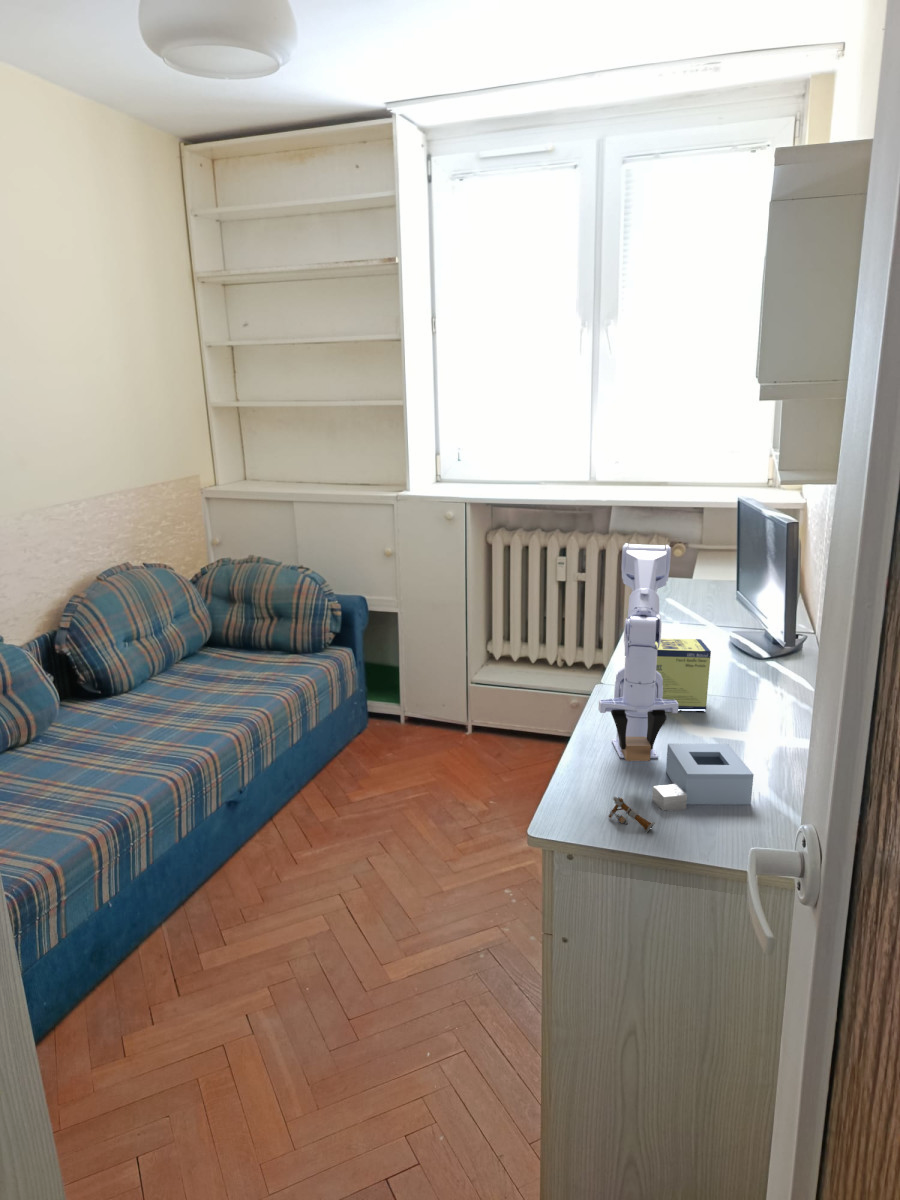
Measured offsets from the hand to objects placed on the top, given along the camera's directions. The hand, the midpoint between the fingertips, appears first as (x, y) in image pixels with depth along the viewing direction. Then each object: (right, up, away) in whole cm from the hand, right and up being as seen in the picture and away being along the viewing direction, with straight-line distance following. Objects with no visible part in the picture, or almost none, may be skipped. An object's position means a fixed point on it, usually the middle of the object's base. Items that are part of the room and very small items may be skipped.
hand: (635, 747), depth 155 cm
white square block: (+5, -10, -5) cm, 12 cm away
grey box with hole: (+14, -8, +2) cm, 16 cm away
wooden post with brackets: (-4, -12, -13) cm, 18 cm away
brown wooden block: (0, -2, 0) cm, 2 cm away
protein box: (+19, +2, +47) cm, 50 cm away
